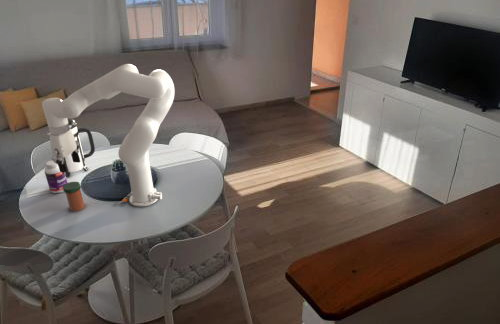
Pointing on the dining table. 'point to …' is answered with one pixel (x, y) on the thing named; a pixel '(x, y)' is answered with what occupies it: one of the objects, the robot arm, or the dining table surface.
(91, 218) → the dining table surface
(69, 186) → the lid
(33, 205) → the dining table surface
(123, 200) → the key chain
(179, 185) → the dining table surface
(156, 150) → the dining table surface
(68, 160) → the coffee press
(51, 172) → the pill bottle
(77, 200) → the jar
